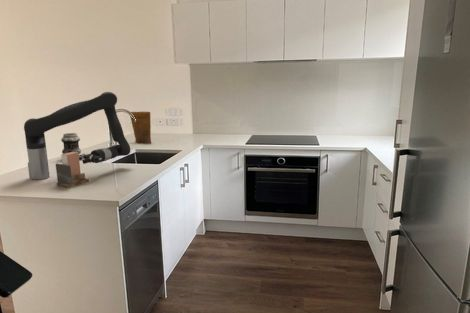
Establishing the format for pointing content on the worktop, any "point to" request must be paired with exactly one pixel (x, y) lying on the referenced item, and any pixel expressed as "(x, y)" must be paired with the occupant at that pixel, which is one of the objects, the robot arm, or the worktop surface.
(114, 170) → the worktop surface
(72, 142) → the dark grey pedestal urn
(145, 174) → the worktop surface
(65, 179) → the rack
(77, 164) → the salmon pink rectangular block
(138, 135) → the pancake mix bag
